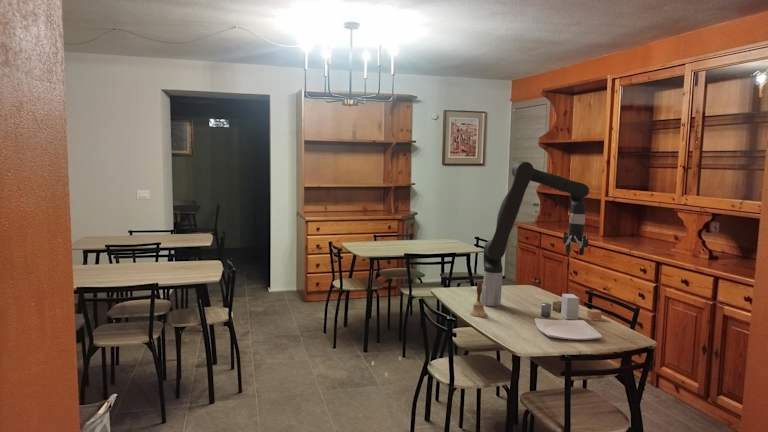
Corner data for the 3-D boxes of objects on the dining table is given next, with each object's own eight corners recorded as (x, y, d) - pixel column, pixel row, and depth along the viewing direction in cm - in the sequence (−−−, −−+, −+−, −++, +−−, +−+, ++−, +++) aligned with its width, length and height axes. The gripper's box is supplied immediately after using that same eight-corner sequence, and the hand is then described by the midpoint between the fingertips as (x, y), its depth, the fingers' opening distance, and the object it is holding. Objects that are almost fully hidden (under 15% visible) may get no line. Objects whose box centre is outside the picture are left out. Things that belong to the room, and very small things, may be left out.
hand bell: (466, 312, 249) (467, 280, 248) (481, 311, 252) (482, 279, 251) (474, 317, 242) (476, 284, 240) (490, 316, 245) (492, 283, 243)
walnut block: (558, 313, 254) (559, 304, 253) (552, 310, 258) (552, 301, 257) (565, 312, 255) (566, 303, 255) (559, 309, 259) (559, 301, 259)
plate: (530, 323, 237) (531, 317, 237) (584, 325, 236) (585, 319, 236) (545, 341, 213) (546, 335, 212) (606, 343, 212) (606, 337, 212)
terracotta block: (591, 320, 243) (592, 312, 243) (586, 317, 247) (587, 309, 247) (601, 320, 244) (601, 311, 243) (596, 317, 248) (597, 309, 247)
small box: (578, 320, 243) (579, 298, 242) (566, 319, 243) (567, 297, 242) (572, 315, 251) (573, 293, 250) (560, 314, 251) (562, 293, 250)
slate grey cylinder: (543, 317, 244) (544, 305, 244) (539, 315, 249) (540, 303, 248) (552, 317, 245) (553, 305, 245) (547, 315, 249) (548, 302, 249)
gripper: (561, 220, 268) (558, 251, 270) (582, 224, 255) (580, 256, 257) (571, 220, 271) (569, 251, 273) (593, 224, 259) (590, 255, 261)
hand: (574, 253), depth 265 cm, fingers open, 8 cm apart
